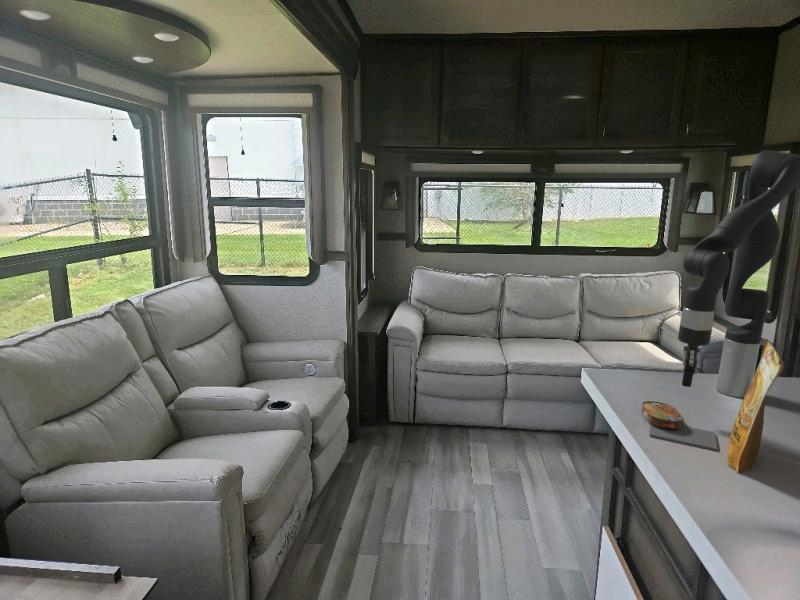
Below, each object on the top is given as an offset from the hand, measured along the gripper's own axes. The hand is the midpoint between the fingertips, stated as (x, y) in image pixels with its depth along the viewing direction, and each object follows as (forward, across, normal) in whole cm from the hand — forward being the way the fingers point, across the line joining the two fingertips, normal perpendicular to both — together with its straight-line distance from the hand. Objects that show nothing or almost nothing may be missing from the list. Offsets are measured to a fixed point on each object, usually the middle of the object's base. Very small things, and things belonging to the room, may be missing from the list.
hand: (686, 385), depth 141 cm
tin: (+8, +4, -1) cm, 9 cm away
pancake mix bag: (+9, +18, +13) cm, 24 cm away
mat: (+9, +12, 0) cm, 15 cm away
